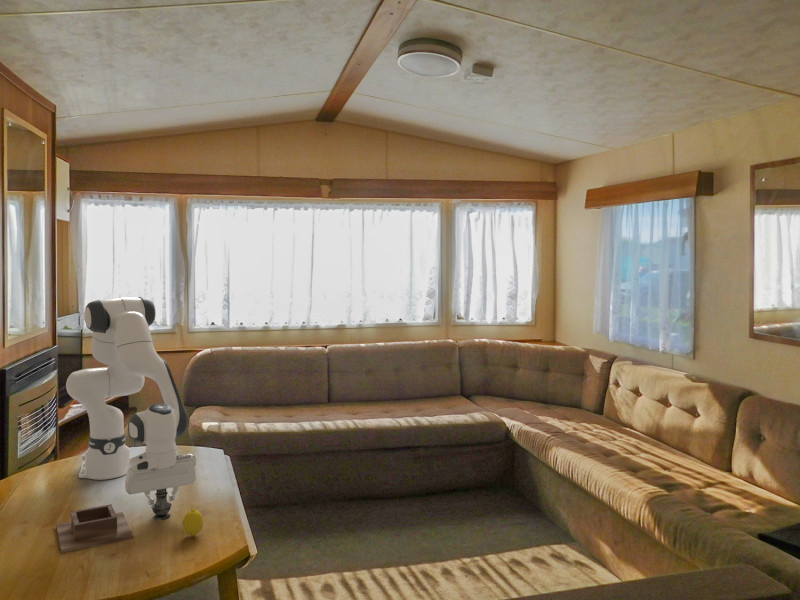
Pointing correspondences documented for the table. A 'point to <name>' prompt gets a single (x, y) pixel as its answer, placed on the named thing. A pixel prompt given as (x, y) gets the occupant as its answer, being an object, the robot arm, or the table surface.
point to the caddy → (93, 528)
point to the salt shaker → (161, 506)
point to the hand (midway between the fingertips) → (161, 502)
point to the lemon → (193, 522)
